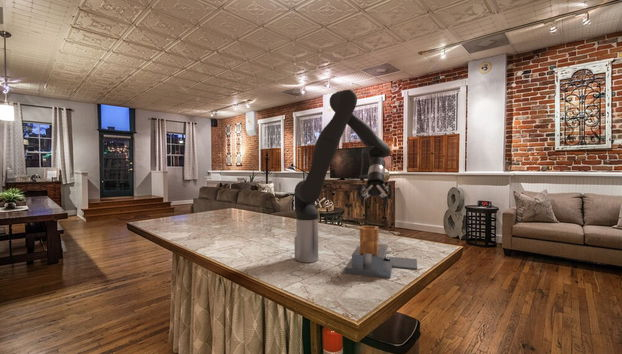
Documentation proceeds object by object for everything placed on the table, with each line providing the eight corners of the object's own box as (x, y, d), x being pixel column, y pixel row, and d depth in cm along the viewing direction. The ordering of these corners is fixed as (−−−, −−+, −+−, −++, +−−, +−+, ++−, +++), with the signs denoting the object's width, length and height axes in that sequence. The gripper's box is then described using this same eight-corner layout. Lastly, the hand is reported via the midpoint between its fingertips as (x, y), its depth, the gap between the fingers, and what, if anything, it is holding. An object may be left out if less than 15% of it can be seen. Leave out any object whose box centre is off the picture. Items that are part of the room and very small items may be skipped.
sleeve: (360, 253, 107) (360, 228, 106) (362, 248, 112) (362, 225, 112) (376, 254, 105) (376, 229, 105) (378, 250, 110) (378, 226, 110)
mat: (384, 266, 113) (384, 265, 113) (386, 257, 124) (386, 256, 124) (417, 269, 109) (417, 268, 109) (416, 260, 120) (416, 258, 120)
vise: (345, 273, 106) (344, 234, 105) (351, 263, 117) (351, 228, 117) (390, 278, 100) (390, 237, 100) (392, 267, 112) (392, 231, 111)
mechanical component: (369, 254, 130) (392, 255, 128) (369, 244, 130) (392, 245, 128) (369, 248, 140) (390, 249, 138) (369, 239, 140) (390, 240, 138)
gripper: (359, 171, 129) (354, 199, 119) (392, 170, 125) (390, 199, 114) (361, 182, 135) (357, 210, 124) (393, 182, 130) (391, 211, 119)
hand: (373, 205), depth 119 cm, fingers open, 8 cm apart
